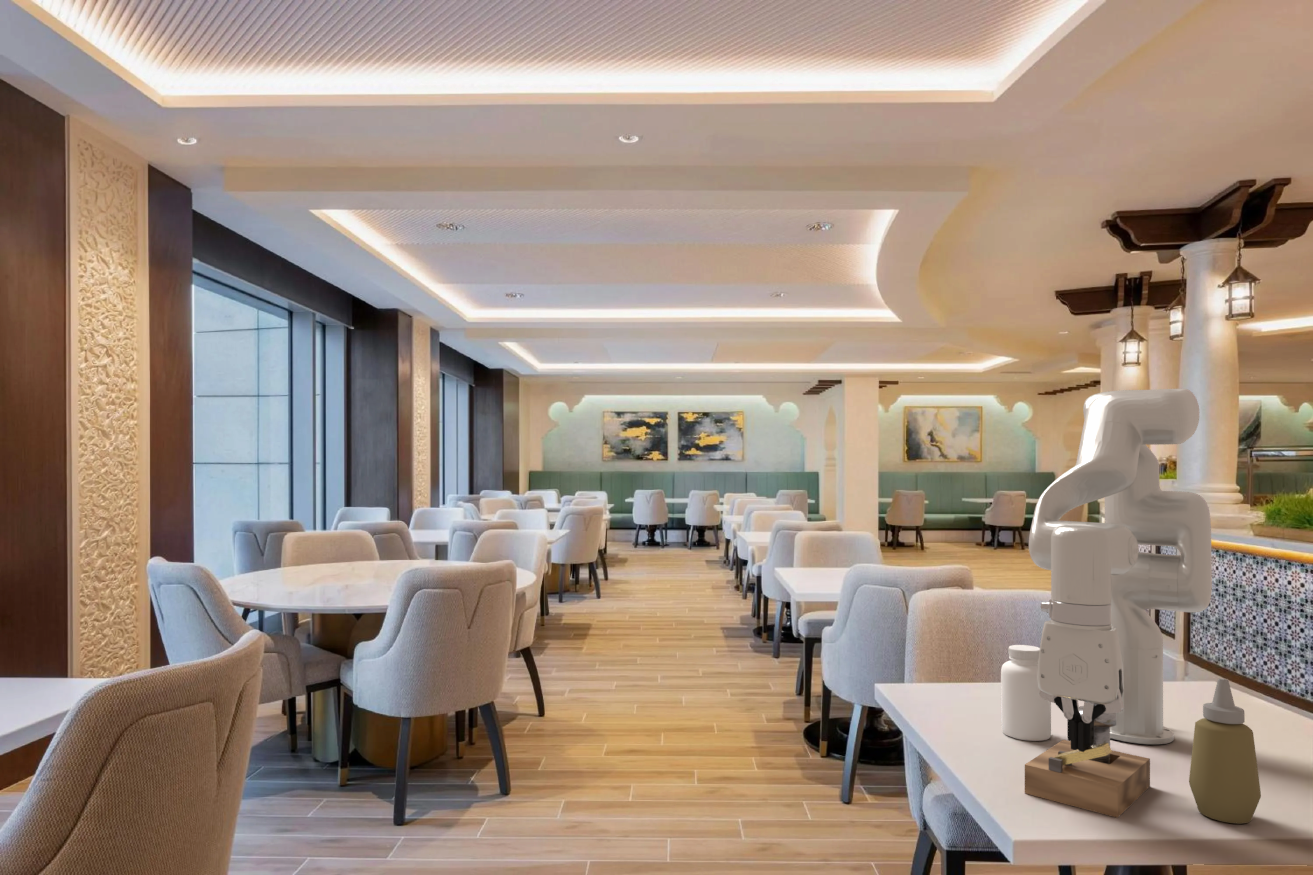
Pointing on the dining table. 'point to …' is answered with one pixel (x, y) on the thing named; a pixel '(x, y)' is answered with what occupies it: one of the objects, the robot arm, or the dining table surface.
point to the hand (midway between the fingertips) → (1080, 748)
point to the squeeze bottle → (1224, 761)
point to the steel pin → (1102, 732)
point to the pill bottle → (1023, 696)
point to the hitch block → (1088, 780)
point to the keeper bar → (1084, 754)
